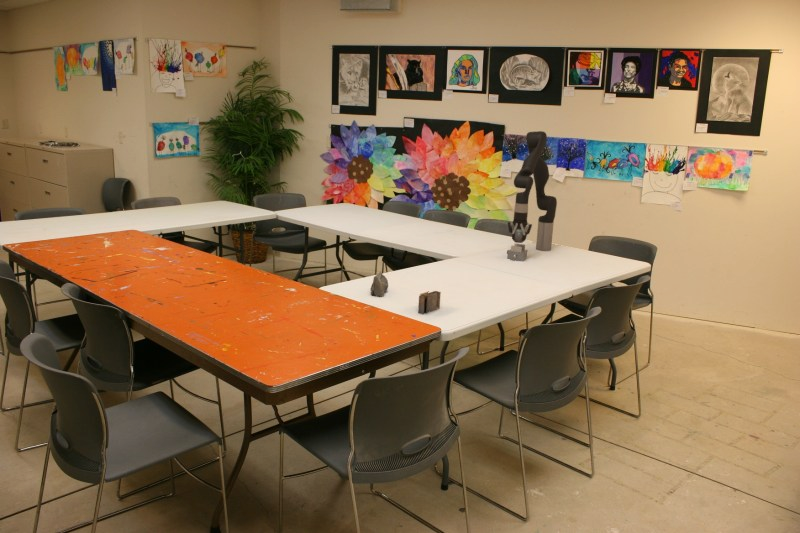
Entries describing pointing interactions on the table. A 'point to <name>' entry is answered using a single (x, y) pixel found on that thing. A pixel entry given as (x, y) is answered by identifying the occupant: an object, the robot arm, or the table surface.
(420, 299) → the brown flat block
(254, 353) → the table surface
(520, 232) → the pump
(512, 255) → the motor
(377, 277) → the mineral rock
